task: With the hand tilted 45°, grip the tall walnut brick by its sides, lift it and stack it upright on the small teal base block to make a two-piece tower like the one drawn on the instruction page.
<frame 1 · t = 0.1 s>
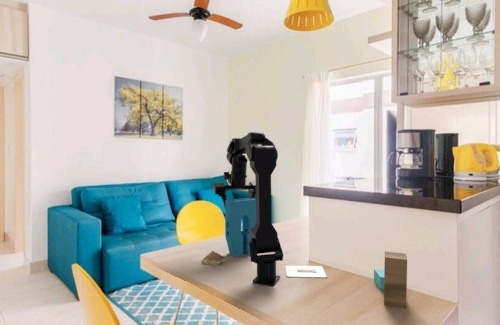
hand: (236, 207, 127), 15 cm above the table, tool pointing down, fingers open, 9 cm apart
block: (241, 253, 119), on the table
teal base block: (387, 285, 91), on the table
shard: (210, 261, 112), on the table
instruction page: (305, 271, 101), on the table
walnut brick: (394, 302, 81), on the table
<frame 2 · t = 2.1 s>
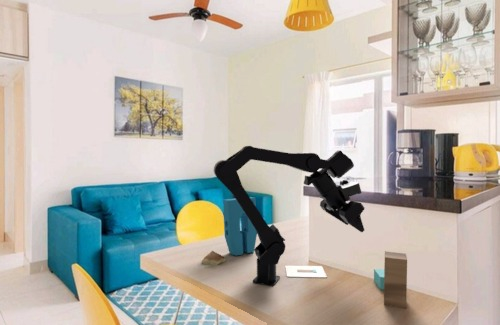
hand: (355, 227, 98), 15 cm above the table, tool tilted 35°, fingers open, 9 cm apart
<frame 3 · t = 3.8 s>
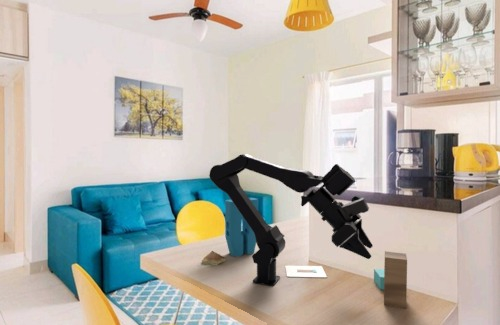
hand: (370, 252, 83), 12 cm above the table, tool tilted 45°, fingers open, 9 cm apart
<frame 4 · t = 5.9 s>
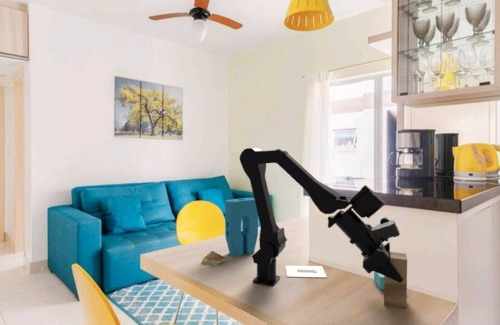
hand: (401, 277, 80), 7 cm above the table, tool tilted 45°, fingers closed on walnut brick, 5 cm apart
walnut brick: (394, 302, 81), on the table, touching gripper
everything else where it was.
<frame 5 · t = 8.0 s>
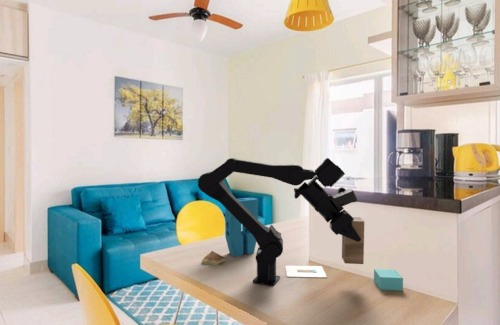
hand: (357, 238, 91), 13 cm above the table, tool tilted 45°, fingers closed on walnut brick, 5 cm apart
walnut brick: (352, 260, 91), point 7 cm above the table, touching gripper
everything else where it was.
when the fingers open (11 cm above the table, at t = 10.4 s): walnut brick drops 1 cm, resting on teal base block.
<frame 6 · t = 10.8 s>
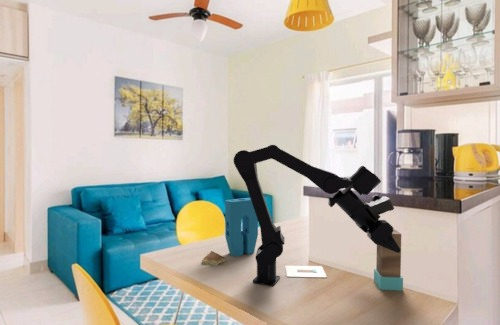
hand: (393, 246, 90), 11 cm above the table, tool tilted 45°, fingers open, 9 cm apart
walnut brick: (388, 273, 90), point 3 cm above the table, touching teal base block
everything else where it was.
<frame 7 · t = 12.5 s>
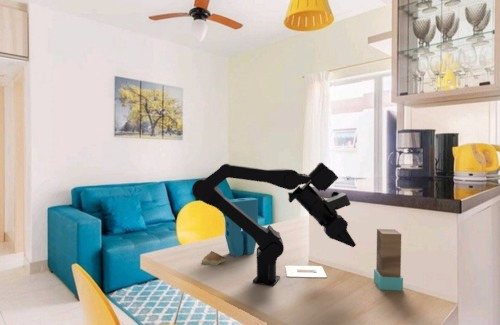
hand: (350, 241, 93), 12 cm above the table, tool tilted 45°, fingers open, 9 cm apart
nothing on the table moved.
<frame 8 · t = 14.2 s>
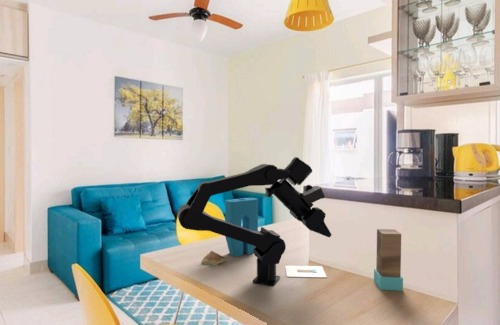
hand: (324, 232, 97), 14 cm above the table, tool tilted 45°, fingers open, 9 cm apart
nothing on the table moved.
at the end: walnut brick 0.0 cm off-centre on the teal base block, point 3.5 cm above the teal base block's base; walnut brick tilted 0°; the gripper is holding nothing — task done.
